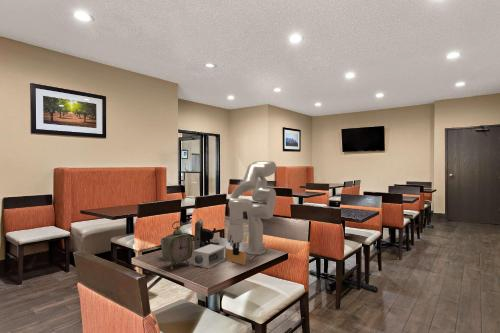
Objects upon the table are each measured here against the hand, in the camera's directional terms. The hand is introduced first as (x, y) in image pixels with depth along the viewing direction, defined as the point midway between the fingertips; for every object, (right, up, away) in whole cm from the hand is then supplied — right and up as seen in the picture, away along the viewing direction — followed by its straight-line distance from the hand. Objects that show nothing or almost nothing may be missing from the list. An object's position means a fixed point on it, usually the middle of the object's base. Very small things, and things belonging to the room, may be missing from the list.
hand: (235, 254), depth 165 cm
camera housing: (-15, -6, +4) cm, 17 cm away
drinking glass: (-41, -6, +12) cm, 43 cm away
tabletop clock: (-33, -6, -2) cm, 33 cm away
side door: (0, -5, +4) cm, 7 cm away
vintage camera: (-20, -6, +29) cm, 36 cm away
